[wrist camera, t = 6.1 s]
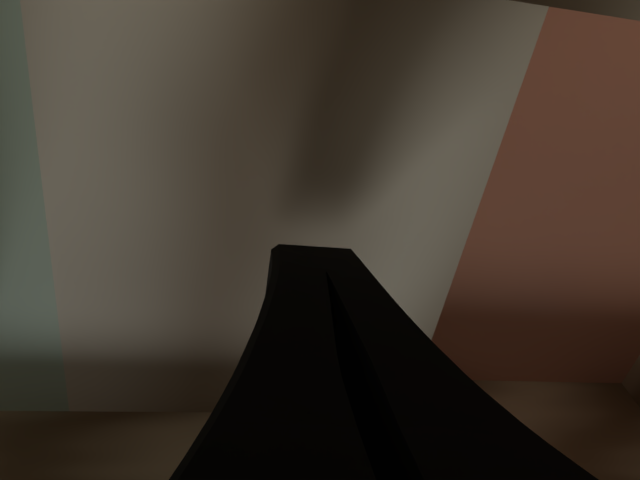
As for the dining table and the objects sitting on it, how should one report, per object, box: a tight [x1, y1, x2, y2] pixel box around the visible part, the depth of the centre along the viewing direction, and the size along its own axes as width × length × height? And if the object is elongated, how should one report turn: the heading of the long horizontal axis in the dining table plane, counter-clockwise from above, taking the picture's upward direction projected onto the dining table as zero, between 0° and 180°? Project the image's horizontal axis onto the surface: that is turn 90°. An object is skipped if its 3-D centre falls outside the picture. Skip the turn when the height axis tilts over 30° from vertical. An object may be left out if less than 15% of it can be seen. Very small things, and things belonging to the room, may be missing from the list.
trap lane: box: [0, 0, 640, 480], centre depth 10 cm, size 32×12×4 cm, turn 81°
